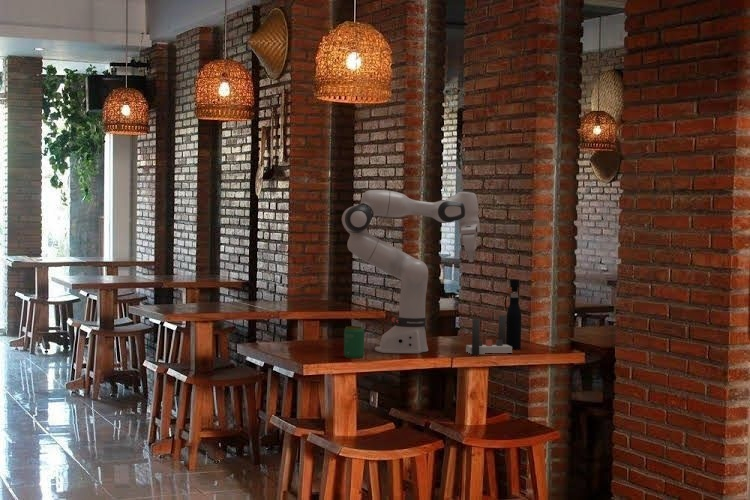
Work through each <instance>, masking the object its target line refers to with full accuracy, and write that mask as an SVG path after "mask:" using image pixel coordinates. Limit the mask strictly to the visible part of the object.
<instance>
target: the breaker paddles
mask: <svg viewBox="0 0 750 500" xmlns="http://www.w3.org/2000/svg"><path fill="white" fill-rule="evenodd" d="M495 341H496V342H495V345H496V346H503V340H498V339H496V340H495ZM482 345H483V340H482V339H479V346H482ZM485 345H486V346H492V345H493V339H486V340H485Z"/></svg>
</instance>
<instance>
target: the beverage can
mask: <svg viewBox="0 0 750 500" xmlns="http://www.w3.org/2000/svg"><path fill="white" fill-rule="evenodd" d="M364 353H365V330H364V328H363V327H362V326H355V325H354V326H345V328H344V332H343V356H344V358H347V359H362V358H364V357H363V356H364V355H365V354H364Z"/></svg>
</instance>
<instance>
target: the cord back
mask: <svg viewBox="0 0 750 500" xmlns="http://www.w3.org/2000/svg"><path fill="white" fill-rule="evenodd" d="M506 317H507V315H504V314H503V315H502V314H500V315H498V339H497V340H503V345H506Z"/></svg>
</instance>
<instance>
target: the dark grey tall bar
mask: <svg viewBox="0 0 750 500" xmlns="http://www.w3.org/2000/svg"><path fill="white" fill-rule="evenodd" d="M480 326H481V319H480V318H473V319H472V327H471V328H472V331H471V332H472V333H471V345H472V355H479V356H480V354H479V340H480V333H481V332H480V331H481V329H480V328H481V327H480ZM472 355H471V356H472Z"/></svg>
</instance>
